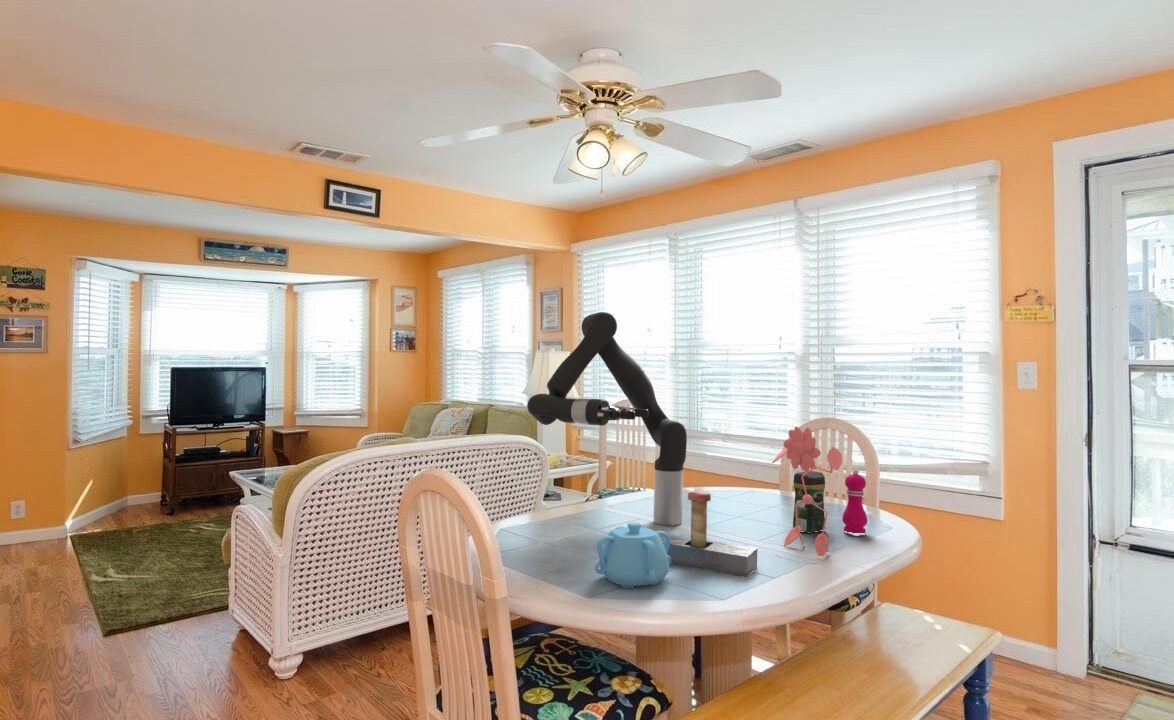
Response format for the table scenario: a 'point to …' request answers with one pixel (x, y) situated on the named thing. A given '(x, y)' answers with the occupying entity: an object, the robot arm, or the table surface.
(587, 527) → the table surface
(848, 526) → the pepper mill
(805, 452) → the figurine
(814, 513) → the coffee jar
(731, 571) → the bar
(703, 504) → the oak pin
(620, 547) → the decorative pot
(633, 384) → the robot arm
